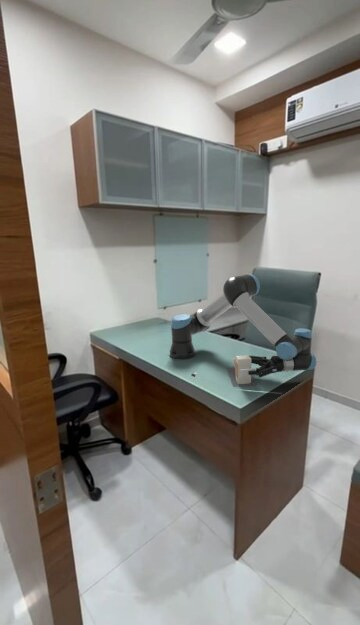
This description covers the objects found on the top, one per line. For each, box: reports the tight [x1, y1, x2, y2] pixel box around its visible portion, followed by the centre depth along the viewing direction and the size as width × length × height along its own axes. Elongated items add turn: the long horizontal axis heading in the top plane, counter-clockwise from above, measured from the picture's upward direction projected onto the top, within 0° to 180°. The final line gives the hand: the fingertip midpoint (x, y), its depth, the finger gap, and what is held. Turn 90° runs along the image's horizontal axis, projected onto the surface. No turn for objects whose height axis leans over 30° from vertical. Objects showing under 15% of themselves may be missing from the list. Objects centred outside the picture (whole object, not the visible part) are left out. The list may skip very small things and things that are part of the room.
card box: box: [234, 354, 252, 384], centre depth 140 cm, size 6×4×12 cm
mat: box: [225, 366, 258, 388], centre depth 148 cm, size 22×11×1 cm, turn 0°
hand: (236, 366), depth 140 cm, fingers open, 13 cm apart
